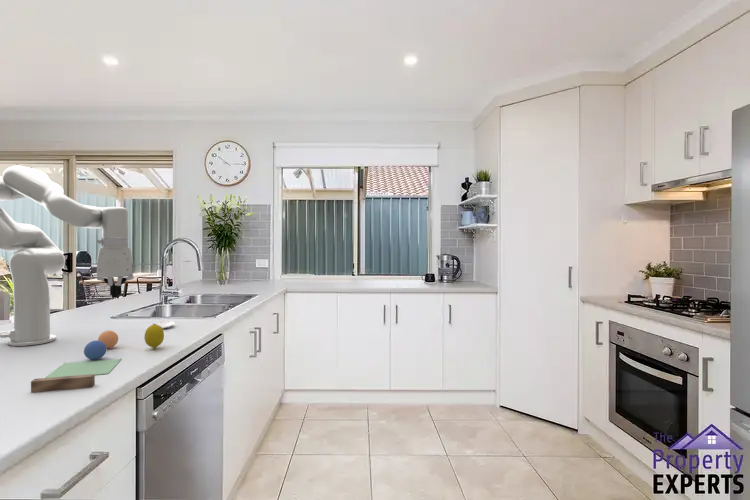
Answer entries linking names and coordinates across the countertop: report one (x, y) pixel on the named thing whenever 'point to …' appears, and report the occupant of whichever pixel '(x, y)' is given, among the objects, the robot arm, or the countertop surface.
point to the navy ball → (95, 350)
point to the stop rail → (62, 383)
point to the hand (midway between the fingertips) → (115, 297)
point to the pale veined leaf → (165, 323)
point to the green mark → (84, 368)
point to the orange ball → (108, 338)
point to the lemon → (154, 336)
